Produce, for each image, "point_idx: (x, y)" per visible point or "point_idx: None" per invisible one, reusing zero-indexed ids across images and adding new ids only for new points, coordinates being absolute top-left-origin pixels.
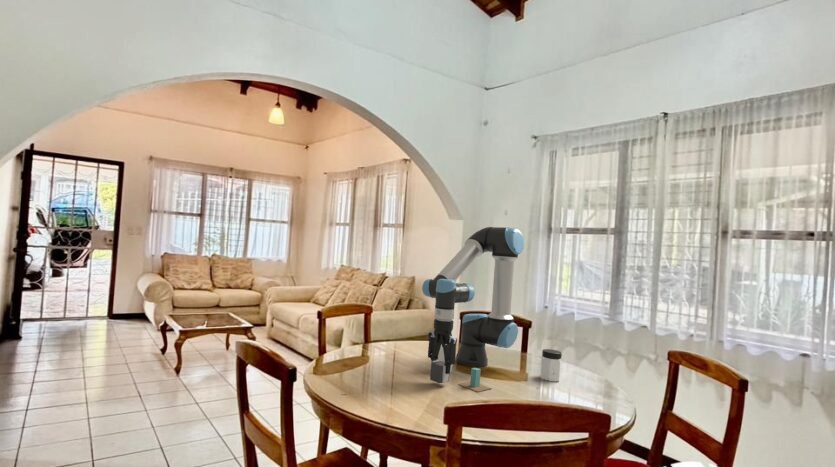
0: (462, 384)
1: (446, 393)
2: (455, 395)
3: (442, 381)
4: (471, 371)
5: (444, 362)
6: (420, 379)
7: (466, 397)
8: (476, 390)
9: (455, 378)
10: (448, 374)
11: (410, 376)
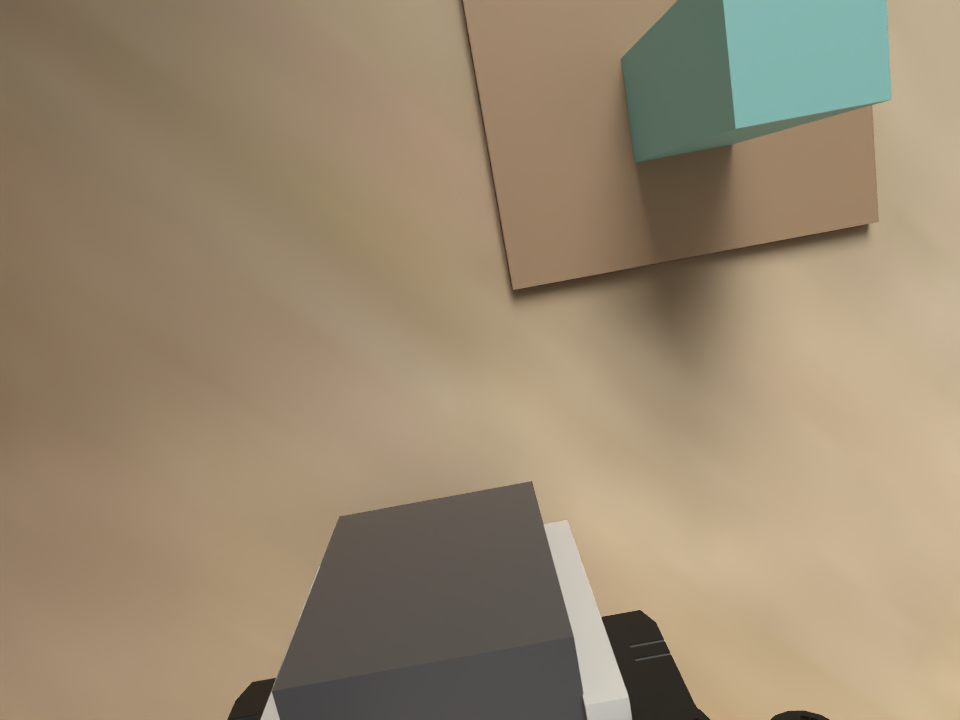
0: (560, 248)
1: (739, 631)
2: (835, 572)
3: None
4: (720, 134)
5: (414, 683)
6: (176, 649)
7: (944, 489)
8: (844, 218)
9: (230, 129)
10: (588, 585)
11: (31, 706)
